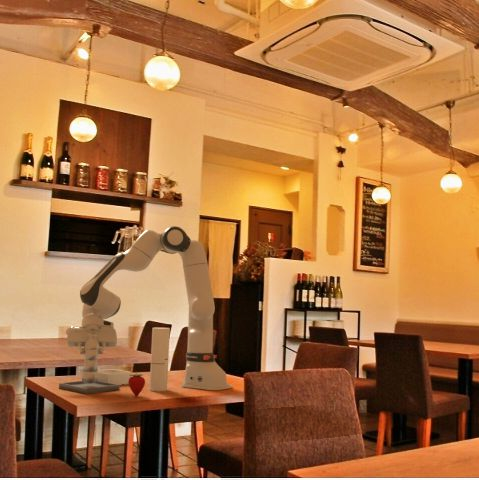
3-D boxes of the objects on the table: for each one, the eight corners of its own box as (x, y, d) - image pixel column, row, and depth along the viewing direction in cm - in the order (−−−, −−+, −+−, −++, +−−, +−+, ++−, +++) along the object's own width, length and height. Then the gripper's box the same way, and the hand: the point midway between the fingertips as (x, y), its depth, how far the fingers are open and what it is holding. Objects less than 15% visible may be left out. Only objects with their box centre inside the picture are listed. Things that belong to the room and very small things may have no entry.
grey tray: (119, 389, 224) (119, 384, 224) (86, 394, 211) (86, 388, 211) (91, 384, 235) (92, 379, 235) (58, 388, 222) (59, 383, 223)
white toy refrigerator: (170, 389, 228) (173, 328, 230) (158, 391, 222) (161, 328, 224) (157, 387, 232) (160, 327, 234) (145, 389, 226) (148, 327, 229)
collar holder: (130, 383, 241) (131, 371, 241) (107, 386, 231) (108, 374, 232) (112, 380, 249) (113, 368, 249) (89, 382, 239) (90, 371, 239)
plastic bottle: (85, 385, 219) (89, 333, 221) (78, 382, 224) (81, 332, 226) (100, 383, 223) (103, 333, 225) (93, 381, 228) (96, 332, 230)
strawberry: (133, 398, 205) (134, 371, 206) (124, 395, 211) (126, 368, 212) (147, 397, 208) (148, 370, 210) (138, 394, 215) (140, 368, 216)
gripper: (66, 321, 230) (65, 347, 219) (117, 322, 235) (117, 348, 225) (66, 332, 233) (64, 358, 223) (115, 332, 239) (116, 358, 229)
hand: (91, 353), depth 224 cm, fingers closed on plastic bottle, 6 cm apart
